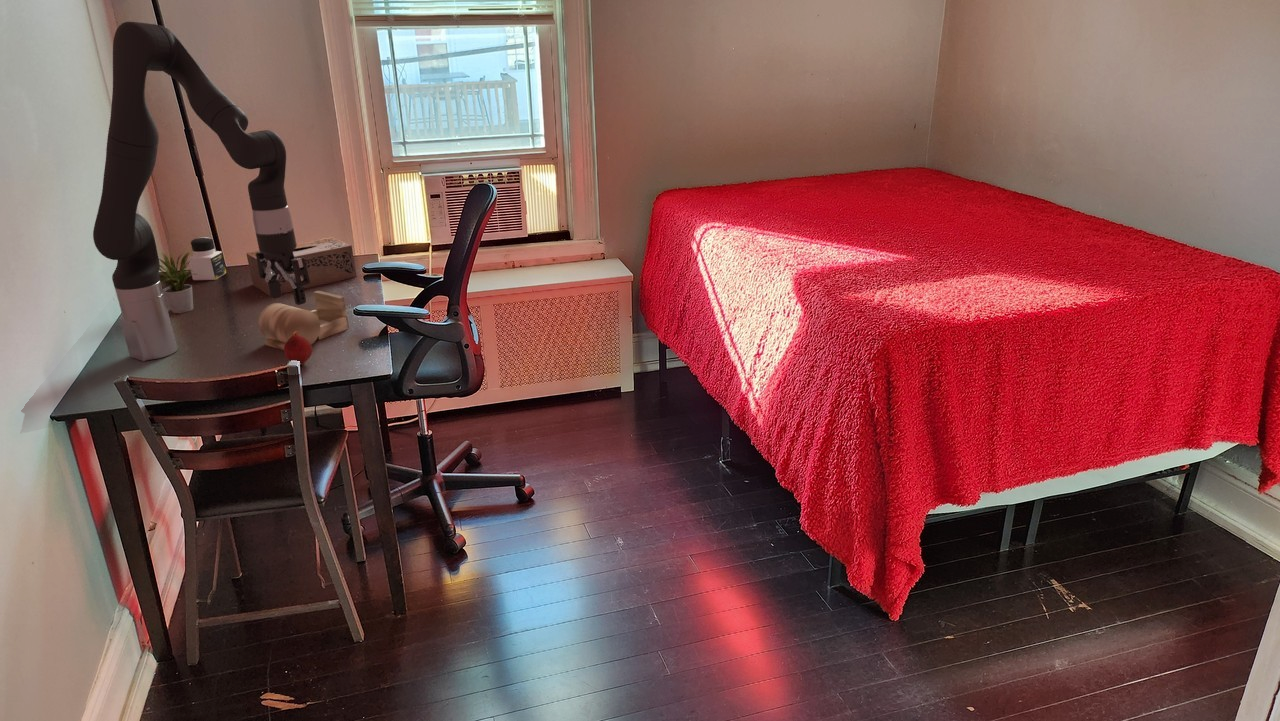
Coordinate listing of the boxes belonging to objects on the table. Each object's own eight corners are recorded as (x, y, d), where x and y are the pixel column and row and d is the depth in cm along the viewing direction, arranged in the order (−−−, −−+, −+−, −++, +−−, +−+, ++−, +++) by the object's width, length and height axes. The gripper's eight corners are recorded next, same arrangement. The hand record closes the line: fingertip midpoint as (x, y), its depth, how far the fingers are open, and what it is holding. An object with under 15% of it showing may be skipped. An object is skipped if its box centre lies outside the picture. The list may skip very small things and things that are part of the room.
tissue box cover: (270, 296, 237) (263, 262, 234) (253, 285, 248) (246, 253, 244) (356, 277, 253) (351, 245, 249) (337, 267, 263) (332, 236, 259)
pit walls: (319, 339, 204) (313, 308, 201) (288, 330, 211) (282, 300, 208) (352, 327, 212) (346, 297, 209) (320, 319, 218) (315, 289, 215)
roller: (323, 340, 204) (316, 305, 200) (291, 352, 197) (283, 316, 193) (294, 332, 209) (288, 298, 206) (262, 344, 203) (255, 309, 199)
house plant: (180, 298, 237) (166, 242, 230) (223, 301, 234) (210, 244, 228) (143, 316, 224) (127, 256, 217) (188, 318, 221) (173, 258, 215)
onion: (305, 371, 187) (298, 337, 184) (282, 369, 188) (275, 336, 185) (319, 360, 192) (313, 328, 189) (296, 359, 193) (290, 327, 190)
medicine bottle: (216, 280, 253) (207, 241, 248) (192, 280, 253) (183, 241, 248) (227, 273, 259) (218, 235, 255) (204, 273, 260) (195, 235, 255)
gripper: (238, 228, 178) (253, 300, 185) (279, 236, 171) (294, 311, 177) (269, 221, 184) (283, 291, 190) (310, 228, 177) (323, 300, 183)
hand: (288, 300), depth 184 cm, fingers open, 8 cm apart
